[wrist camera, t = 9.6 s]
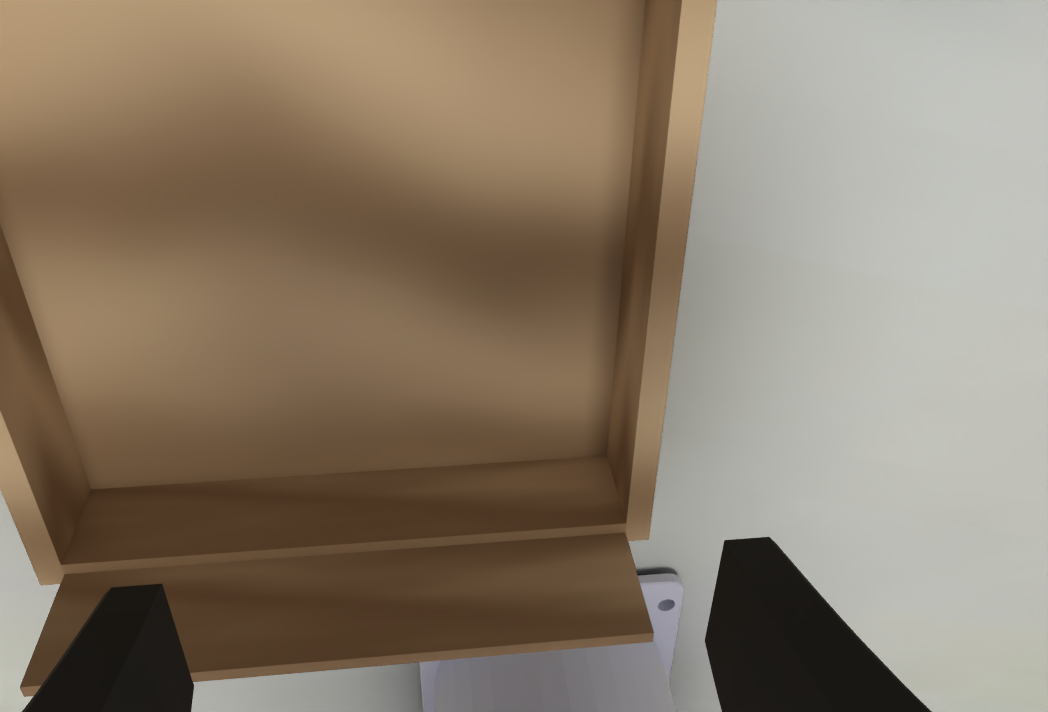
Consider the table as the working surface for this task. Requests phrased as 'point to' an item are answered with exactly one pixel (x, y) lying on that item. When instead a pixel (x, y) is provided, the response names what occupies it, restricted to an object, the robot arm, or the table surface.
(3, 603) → the table surface
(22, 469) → the brown wooden open box
